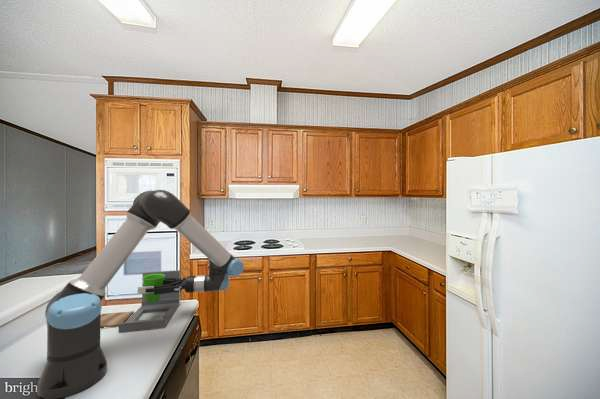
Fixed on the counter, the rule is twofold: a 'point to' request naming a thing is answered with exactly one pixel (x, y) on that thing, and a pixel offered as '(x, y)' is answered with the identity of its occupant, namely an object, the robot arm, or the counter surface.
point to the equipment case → (154, 308)
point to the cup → (151, 281)
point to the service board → (114, 319)
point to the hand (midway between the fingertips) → (142, 286)
